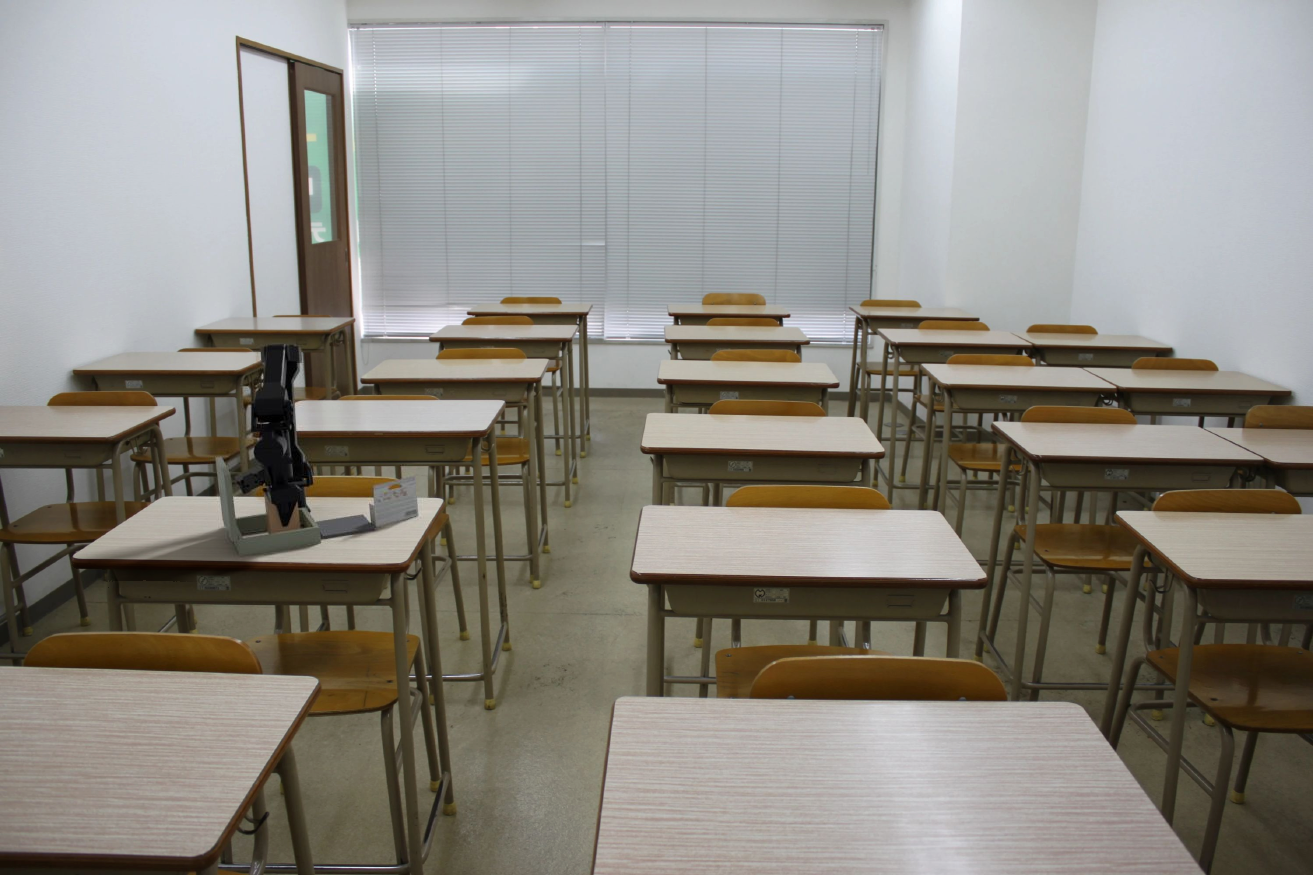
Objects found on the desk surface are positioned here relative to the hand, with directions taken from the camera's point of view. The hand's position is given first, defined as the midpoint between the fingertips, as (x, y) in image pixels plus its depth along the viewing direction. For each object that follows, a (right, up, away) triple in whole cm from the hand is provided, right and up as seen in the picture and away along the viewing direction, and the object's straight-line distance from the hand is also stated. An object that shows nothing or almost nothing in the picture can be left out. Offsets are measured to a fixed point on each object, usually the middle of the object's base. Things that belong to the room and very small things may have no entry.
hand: (283, 523), depth 207 cm
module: (0, -3, +1) cm, 3 cm away
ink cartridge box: (+21, -1, +12) cm, 24 cm away
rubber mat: (+11, -1, +7) cm, 13 cm away
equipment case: (-2, -3, 0) cm, 4 cm away
